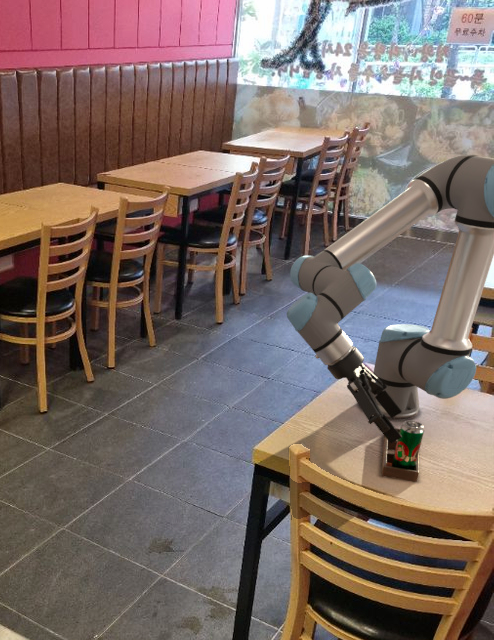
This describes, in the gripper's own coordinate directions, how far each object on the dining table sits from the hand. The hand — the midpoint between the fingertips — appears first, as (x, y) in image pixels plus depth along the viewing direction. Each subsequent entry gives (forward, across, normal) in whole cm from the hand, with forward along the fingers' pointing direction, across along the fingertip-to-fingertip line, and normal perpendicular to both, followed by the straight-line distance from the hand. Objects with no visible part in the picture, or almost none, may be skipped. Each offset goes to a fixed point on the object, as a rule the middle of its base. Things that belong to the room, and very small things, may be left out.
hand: (396, 426), depth 168 cm
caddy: (+10, -7, -6) cm, 13 cm away
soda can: (+10, 0, -5) cm, 12 cm away
